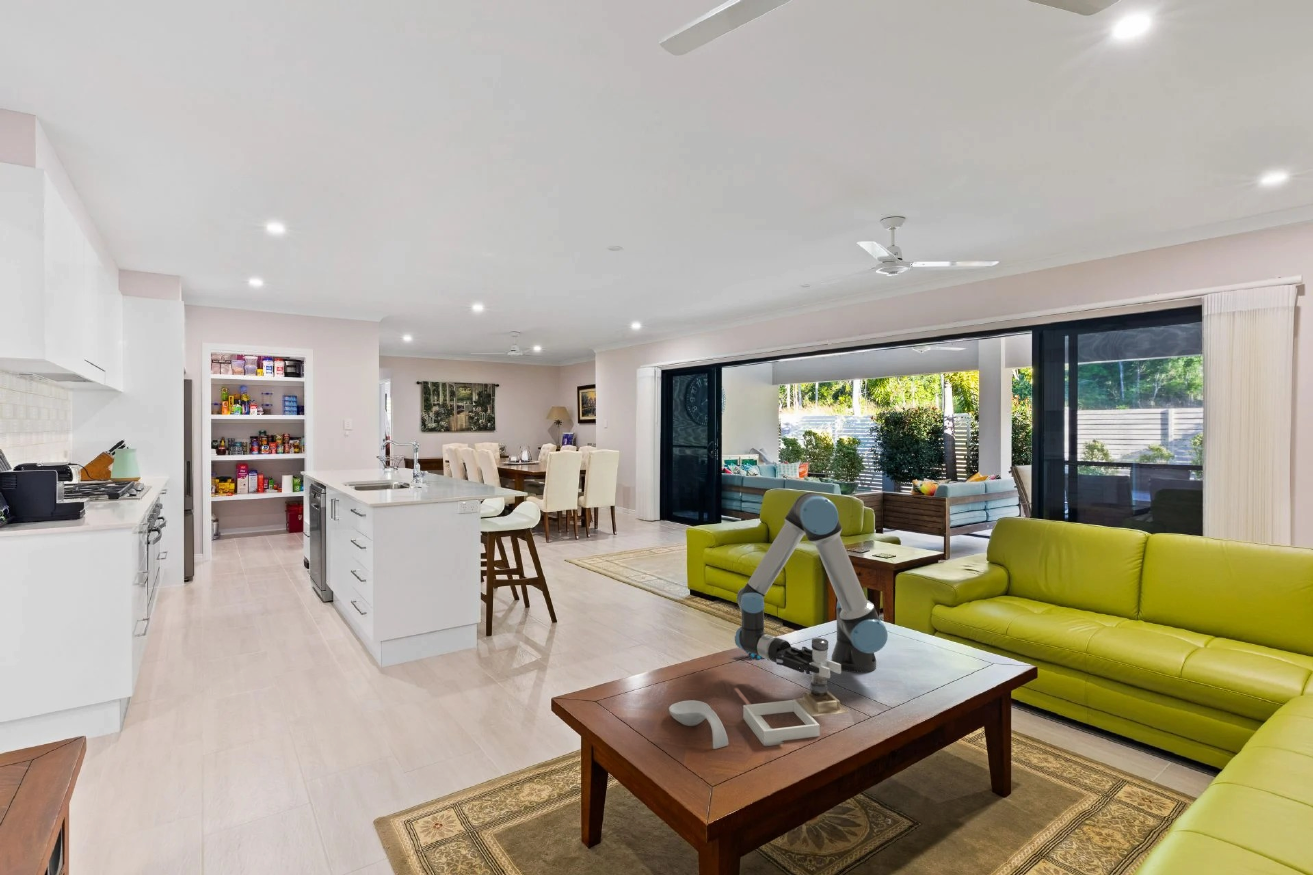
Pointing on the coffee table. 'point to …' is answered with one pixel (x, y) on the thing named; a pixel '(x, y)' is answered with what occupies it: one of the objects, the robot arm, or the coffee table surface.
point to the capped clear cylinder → (819, 658)
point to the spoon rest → (700, 719)
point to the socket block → (821, 704)
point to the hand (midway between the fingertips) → (834, 671)
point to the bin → (778, 735)
